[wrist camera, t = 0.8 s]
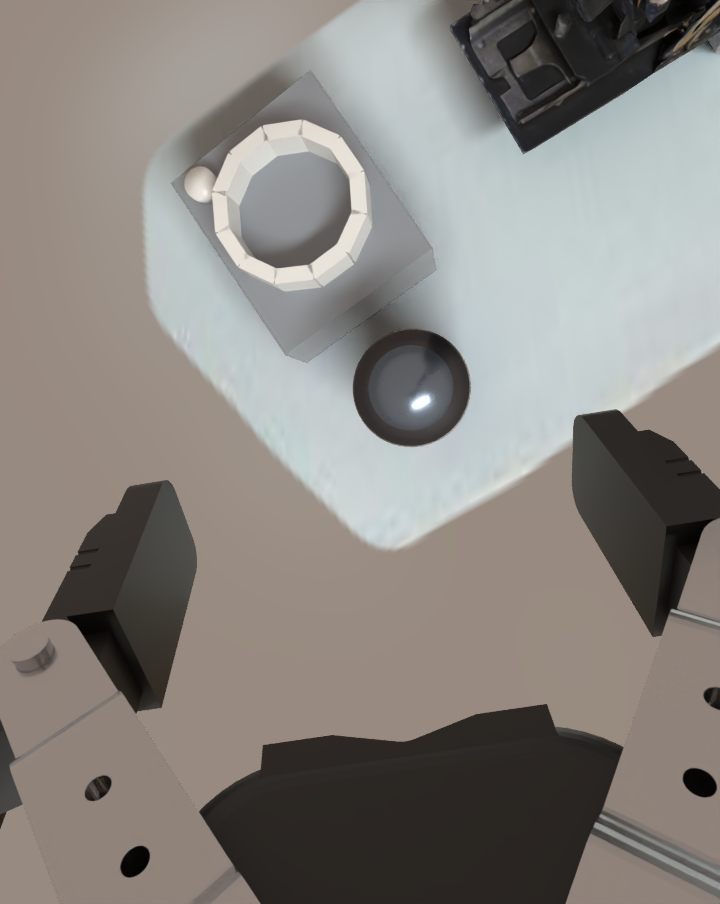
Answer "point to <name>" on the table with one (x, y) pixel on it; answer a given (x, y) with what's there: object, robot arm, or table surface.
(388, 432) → the lens
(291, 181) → the grey base with ring
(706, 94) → the table surface
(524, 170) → the table surface
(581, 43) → the vintage camera
